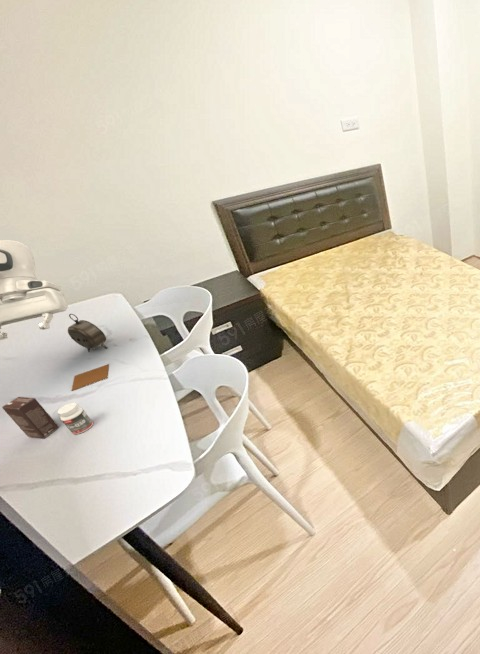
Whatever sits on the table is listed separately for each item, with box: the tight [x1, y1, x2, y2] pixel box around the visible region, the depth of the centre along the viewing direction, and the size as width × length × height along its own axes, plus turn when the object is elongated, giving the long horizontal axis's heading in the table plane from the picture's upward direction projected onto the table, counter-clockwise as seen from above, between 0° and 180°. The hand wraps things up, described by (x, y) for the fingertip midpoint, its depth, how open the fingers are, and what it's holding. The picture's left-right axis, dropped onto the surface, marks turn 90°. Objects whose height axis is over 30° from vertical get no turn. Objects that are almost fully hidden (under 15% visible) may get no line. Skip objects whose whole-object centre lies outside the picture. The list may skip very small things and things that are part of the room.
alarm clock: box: [67, 313, 108, 353], centre depth 146 cm, size 11×5×16 cm, turn 76°
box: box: [1, 396, 60, 439], centre depth 113 cm, size 6×4×12 cm
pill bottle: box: [57, 402, 94, 435], centre depth 115 cm, size 5×5×8 cm
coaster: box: [71, 363, 110, 391], centre depth 136 cm, size 9×9×1 cm
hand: (23, 333), depth 118 cm, fingers open, 8 cm apart
